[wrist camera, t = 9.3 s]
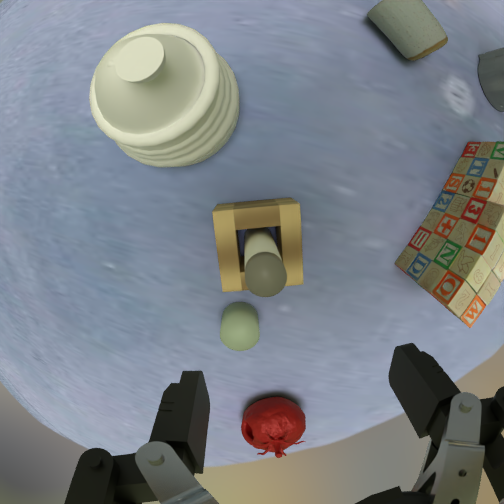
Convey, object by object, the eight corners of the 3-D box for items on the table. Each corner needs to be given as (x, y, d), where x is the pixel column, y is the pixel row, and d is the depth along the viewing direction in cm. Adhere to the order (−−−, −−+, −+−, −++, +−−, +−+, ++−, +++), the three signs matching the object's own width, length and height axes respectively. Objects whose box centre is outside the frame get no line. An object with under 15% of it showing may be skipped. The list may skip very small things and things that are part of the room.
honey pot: (258, 78, 27) (275, -13, 9) (211, 183, 30) (169, 209, 13) (154, 47, 25) (83, -33, 8) (110, 147, 28) (-2, 144, 11)
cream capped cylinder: (243, 224, 31) (242, 260, 20) (270, 222, 31) (286, 256, 20) (245, 250, 32) (247, 299, 21) (272, 248, 32) (288, 294, 21)
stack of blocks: (466, 140, 28) (530, 141, 17) (487, 169, 30) (547, 179, 18) (392, 264, 33) (447, 307, 22) (419, 286, 35) (471, 330, 23)
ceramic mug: (401, 70, 26) (436, 53, 19) (357, 21, 24) (383, -6, 17) (439, 41, 24) (471, 26, 17) (400, -2, 22) (427, -24, 15)
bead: (219, 303, 34) (217, 320, 30) (256, 300, 34) (257, 316, 30) (224, 333, 35) (222, 352, 32) (259, 330, 35) (260, 349, 32)
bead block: (217, 204, 31) (212, 211, 26) (291, 197, 31) (299, 203, 26) (225, 273, 33) (222, 292, 28) (294, 266, 33) (303, 284, 28)
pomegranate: (288, 379, 38) (299, 426, 29) (310, 415, 41) (322, 457, 32) (228, 401, 39) (227, 448, 30) (256, 434, 42) (260, 476, 33)
